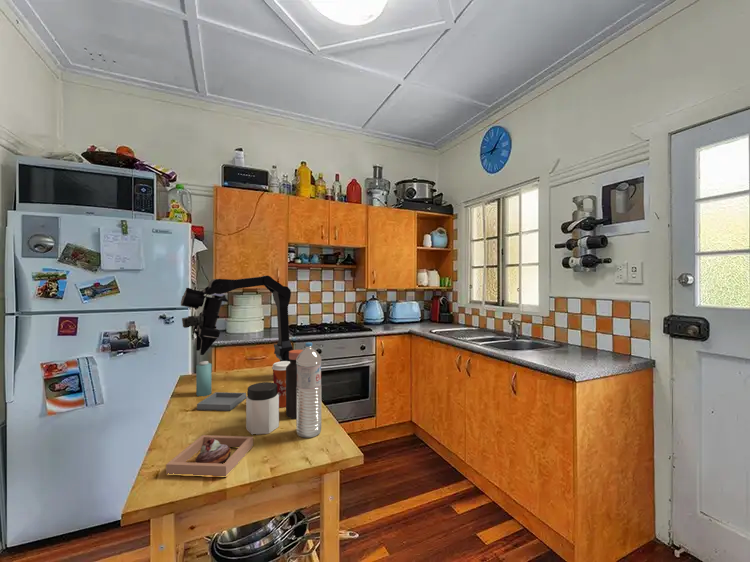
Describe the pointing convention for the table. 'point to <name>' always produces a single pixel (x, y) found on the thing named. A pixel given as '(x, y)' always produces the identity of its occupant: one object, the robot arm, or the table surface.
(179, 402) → the table surface
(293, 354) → the vinegar
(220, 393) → the tray
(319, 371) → the water bottle
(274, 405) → the jar
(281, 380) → the paper cup
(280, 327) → the robot arm
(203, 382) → the pepper mill
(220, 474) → the pastry plate
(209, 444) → the pastry
